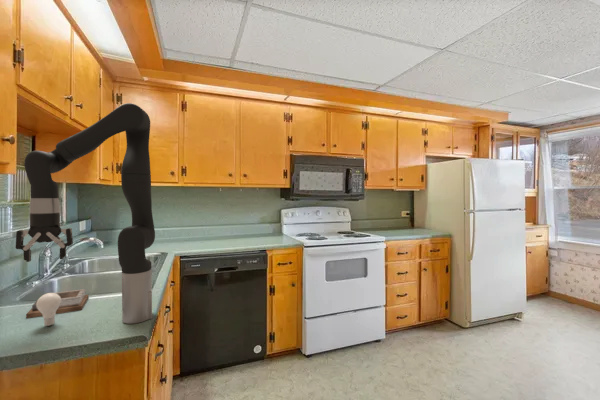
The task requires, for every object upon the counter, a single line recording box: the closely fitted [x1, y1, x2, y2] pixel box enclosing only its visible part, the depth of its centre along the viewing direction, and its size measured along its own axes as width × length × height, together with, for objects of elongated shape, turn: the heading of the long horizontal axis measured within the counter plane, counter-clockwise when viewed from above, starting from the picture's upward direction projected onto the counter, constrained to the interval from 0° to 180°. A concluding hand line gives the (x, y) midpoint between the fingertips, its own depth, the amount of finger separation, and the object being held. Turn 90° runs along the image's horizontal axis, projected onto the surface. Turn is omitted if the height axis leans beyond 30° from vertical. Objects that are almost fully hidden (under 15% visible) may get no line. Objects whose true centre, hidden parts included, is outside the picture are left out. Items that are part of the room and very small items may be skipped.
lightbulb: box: [36, 292, 61, 327], centre depth 97 cm, size 6×6×11 cm
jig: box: [25, 288, 90, 319], centre depth 113 cm, size 16×14×4 cm
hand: (45, 260), depth 97 cm, fingers open, 8 cm apart
